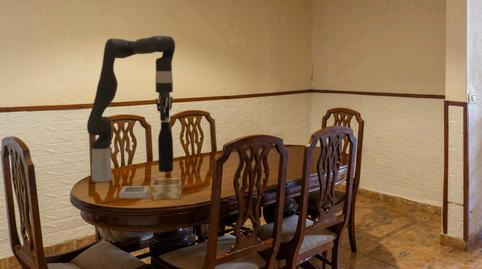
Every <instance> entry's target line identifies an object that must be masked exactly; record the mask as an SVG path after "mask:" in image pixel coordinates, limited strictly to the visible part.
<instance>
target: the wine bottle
mask: <svg viewBox="0 0 482 269" xmlns="http://www.w3.org/2000/svg"><path fill="white" fill-rule="evenodd" d="M163 109H164V107H163ZM168 112H169V113H170V111H169V105H167V107H166V109H165V117H168ZM173 142H174V141H173V134H172V132H171V129H170V119H169V120H168V118H165V121H160V130H159V133H158V139H157V146H158V149H157V150H158V171H159V172H161V173H171V172H173V171H174V155H173V154H174V149H173V148H174V147H173V146H174V144H173Z"/></svg>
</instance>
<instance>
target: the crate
mask: <svg viewBox="0 0 482 269" xmlns="http://www.w3.org/2000/svg"><path fill="white" fill-rule="evenodd" d="M150 193H151V194H150V196H151V198H150V199H151V200H152V201H156V200H158V201H159V200H181V199H182V178H180V177H177V178H153V179H152V182H151V185H150Z"/></svg>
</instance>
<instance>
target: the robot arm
mask: <svg viewBox="0 0 482 269" xmlns="http://www.w3.org/2000/svg"><path fill="white" fill-rule="evenodd" d="M175 50H176V41H175V40H174V38H173V37H172V36H170V35H169V36H167V35H153V36H150V37H143V38H139V39H136V40H127V39H123V38H109V39H107V40H106V42H105V44H104V49H103V55H102V56H103V57H102V64H101V65H102V66H101V70H100V75H99V78H98V82H97V86H96V92H95V96H94V100H93V104H92V108H91V111H90V114H89V116H88V120H87V123H86V130H87V133H88V135H90V136H94V137H95V136H98V137H97V138H96V139H95V140H94V141H92V142H91V182H92V183H93V182H95V183H104V182H105V183H106V182H107V183H108V182H110V181H112V180H113V179H112V176H113V174H112V159H111V158H112V156H111V144H112V123H111V120H110V118H109V117H108V116H103V114H104V112H105V111H106V109H107V108H108V107H109V105H111V103H112V102H113V100H114V99H115V97H116V94H117V90H118V87H119V86H118V85H119V84H118V79H117V77H116V73H115V70H114V65H115V62H116V59H126V58H129V57H132V56H135V55H147V54H154V53H161V54H162V55H161V57H157V58H156V60H155V77H154V78H155V92H156V93H158V98H155V104H156V110H157V112H159V117H160V118H159V120H160V122H162V121H165V118H168V120H169V121H170V111H171V110H172V107H173V100H174V98H173V97H174V96H171V95H170V93H173V92H174V86H173V85H174V84H173V78H174V77H173V63H172V62H173V58H174V54H175ZM167 105H169V112H168V117H165V109H166V107H167ZM163 107H164V109H163Z"/></svg>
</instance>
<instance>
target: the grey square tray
mask: <svg viewBox="0 0 482 269" xmlns="http://www.w3.org/2000/svg"><path fill="white" fill-rule="evenodd" d="M149 192H150V185H132V186H127V185H126V186H122V188H121V190H120V191H119V193H118V196H119V198H118V199H120V200H121V199H124V198H126V199H146V198H148V194H149ZM124 200H125V199H124Z"/></svg>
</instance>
